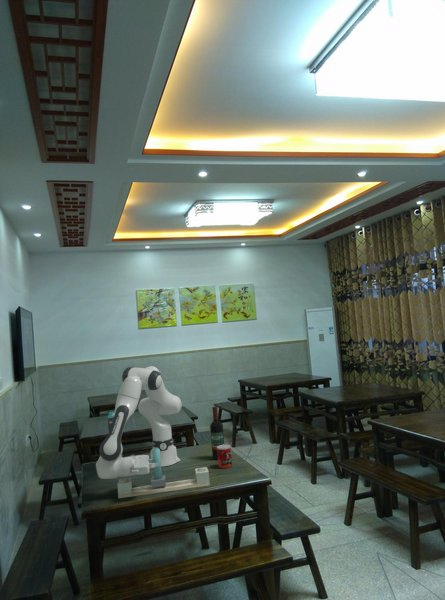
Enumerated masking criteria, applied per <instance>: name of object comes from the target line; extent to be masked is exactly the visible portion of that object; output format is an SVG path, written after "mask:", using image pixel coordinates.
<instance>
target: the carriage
mask: <svg viewBox="0 0 445 600" xmlns="http://www.w3.org/2000/svg"><path fill="white" fill-rule="evenodd" d="M151 450H152V449H151ZM152 452H153V463H155V462H159V466H157V467H154V468H153V476H151V477H150V485H151V488H154V487H162V486H166V483H167V481H166V475H164V474H163V473H162V466H161V460H160V449H159V448H156V449H153V450H152ZM162 474H163V475H162Z"/></svg>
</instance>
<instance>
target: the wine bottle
mask: <svg viewBox="0 0 445 600" xmlns="http://www.w3.org/2000/svg"><path fill="white" fill-rule="evenodd" d="M212 417H213V421H212V422H211V423H210V425H209V431H210V432H209V433H210V441H211V443H210V444H211V453H212V460H213V461H218V455H217V446H219V445H225V436H224V425H223V423H222V422H221V421H220V420H219V413H218V406H212Z"/></svg>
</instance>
